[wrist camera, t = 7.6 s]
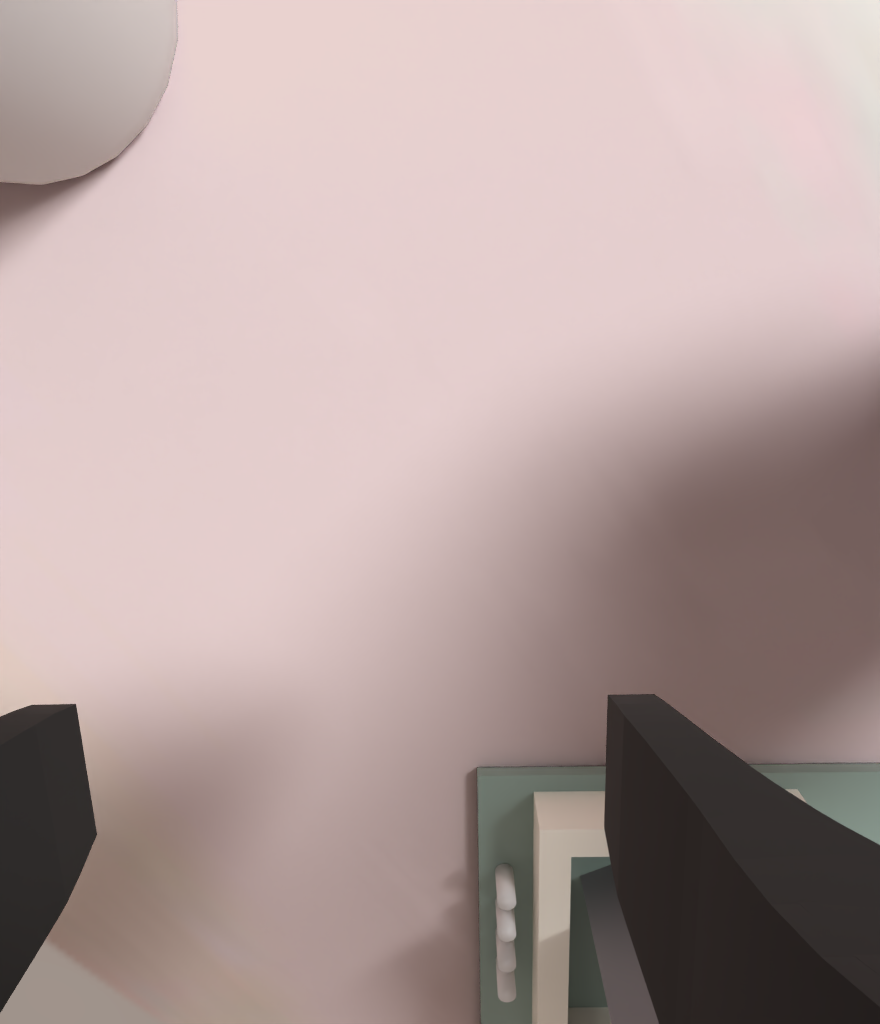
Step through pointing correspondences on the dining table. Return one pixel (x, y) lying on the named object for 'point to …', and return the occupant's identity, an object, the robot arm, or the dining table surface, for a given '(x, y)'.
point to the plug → (616, 952)
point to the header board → (574, 852)
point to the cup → (78, 82)
